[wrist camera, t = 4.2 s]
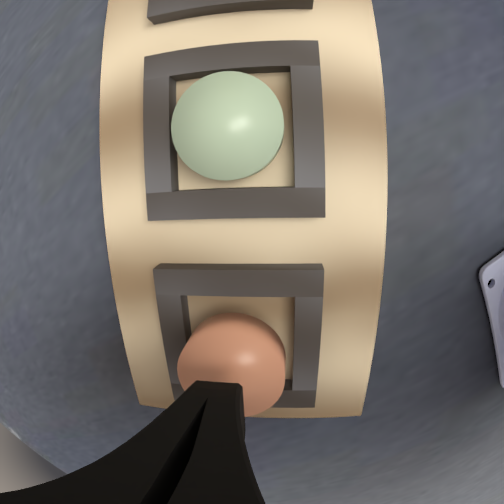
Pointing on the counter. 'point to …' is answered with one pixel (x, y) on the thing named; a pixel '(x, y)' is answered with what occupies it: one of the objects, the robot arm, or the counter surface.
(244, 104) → the sage button
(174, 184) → the button console
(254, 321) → the terracotta button
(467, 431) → the counter surface
